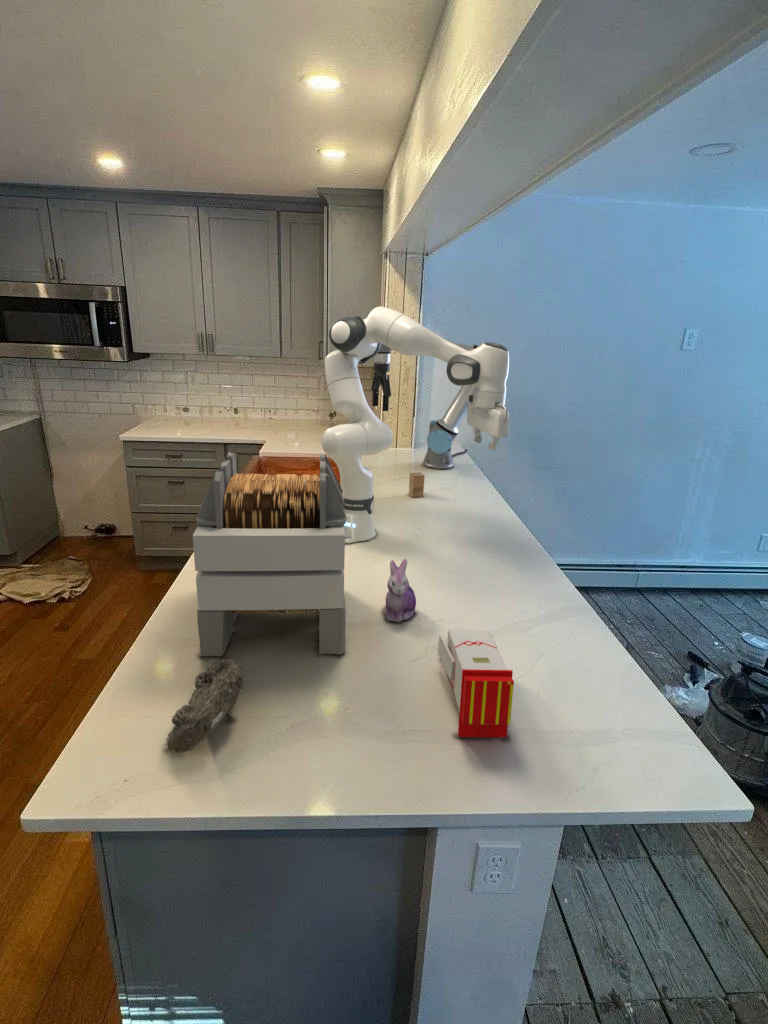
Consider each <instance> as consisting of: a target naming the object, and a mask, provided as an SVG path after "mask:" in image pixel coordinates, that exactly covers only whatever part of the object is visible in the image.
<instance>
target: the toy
mask: <svg viewBox="0 0 768 1024" xmlns="http://www.w3.org/2000/svg"><path fill="white" fill-rule="evenodd" d="M446 640H447V643H446V641H445V639H444V636H443V635H442V634H439V637H438V646H437V656H438V657H439V659H440V661H441V663H442V666H443V668H444V670H445V672H446V674H447V677H448V679H449V681H450V684H451V687H452V690H453V693H454V697H455V701H456V705H457V708H458V711H459V714H458V715H459V716H458V730H457V731H458V732H457V737H458V738H508V731H509V726H510V725H511V717H512V707H513V697H514V696H513V695H514V684H515V680H514V679H513V673H514V671H513V670H512V669H508V667H507V665H506V662H505V661H504V659H503V658H502V655H501V653H500V651H499V649H498V647H497V643H496V639H495V637H494V635H493V634H491V632H490V631H489V629H467V628H466V629H465V628H463V629H461V628H460V629H459V628H448V630H447V639H446Z"/></svg>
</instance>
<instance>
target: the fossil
mask: <svg viewBox="0 0 768 1024" xmlns="http://www.w3.org/2000/svg"><path fill="white" fill-rule="evenodd" d="M243 670H244V669H243V667H242V665H240V664H237V662H236V661H235V660H234V659H232V658H231V659H227V658H226V659H224V660H223V661H222V660H217V659H212V660H211V661H210V663H209V665H208V666H207V671H201V672H199V673H198V674H197V675H196V676H195V680H194V684H195V685H194V687H195V689H194V690H193V693H192V694H191V697H190V698H189V700H188V704H184V705H182V706H181V707H180V709H177V710H176V711H175V713H174V715H173V716H172V718H171V723H172V724H173V727H172V730H171V731H170V732H168V734H167V738H166V741H167V742H166V745H167V749H168V750H169V751H173V752H174V753H176V754H178V753H182V752H188V751H189V752H192V751H193V750H195V748H196V747H197V746H199V744H200V743H201V742H203V741H204V740H205V739H206V738H207V737H208V736H209V735H210V734H211V733H212V732H214V730H215V729H217V727H218V726H219V724H220V722H221V721H222V720H223V719H224V718H225V716H226V717H227V719H229V720H233V717H232V715H230V714H229V710H230V709H231V708H234V706H235V704H236V703H237V702H238V699H239V697H240V695H241V693H242V691H243V690H245V689H244V688H245V675H244V671H243Z"/></svg>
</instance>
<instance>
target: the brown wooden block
mask: <svg viewBox="0 0 768 1024" xmlns="http://www.w3.org/2000/svg"><path fill="white" fill-rule="evenodd" d="M425 478H426V477H425V474H424V473H422V472H420V471H419V472H417V471H416V472H409V482H408V496H410V497H411V498H412V499H413V498H424V491H425V490H424V489H425V488H424V487H425Z"/></svg>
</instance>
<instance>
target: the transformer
mask: <svg viewBox="0 0 768 1024" xmlns="http://www.w3.org/2000/svg"><path fill="white" fill-rule="evenodd" d="M195 521H196V525H197V527H196V529H195V530H194V532H193V534H192V544H193V545H192V546H193V558H194V559H193V560H194V571H195V572H197V573H196V576H195V584H196V597H197V610H196V619H197V631H198V639H199V651H200V652H199V656H200V657H201V658H207V657H223V655H224V653H225V651H226V648H227V647H228V644H229V641H230V639H231V638H232V637H231V636H232V634H233V624H235V623H236V619H237V617H238V614H257V613H258V614H263V613H264V614H266V613H267V614H277V613H278V614H282V613H283V614H288V613H291V614H292V613H308V612H309V613H317V612H318V613H319V614H318V615H319V616H318V618H319V621H318V622H319V626H318V627H319V628H318V629H319V630H318V632H319V634H318V636H319V637H318V638H319V639H318V640H319V646H318V649H319V652H318V653H319V655H341V656H342V654H344V653H346V626H347V625H346V623H347V621H346V619H347V617H346V616H347V608H346V596H345V559H346V558H345V556H346V555H345V554H346V553H345V552H346V543H345V530H344V524H345V523H346V511H345V503H344V496H343V491H342V489H341V486H340V481H339V480H338V477H337V475H336V474H335V472H334V469H333V467H332V465H331V463H330V461H329V459H328V455H327V454H326V453H321V452H320V453H319V474H312V475H311V474H307V473H304V474H302V475H299V474H295V473H276V474H271V473H270V474H268V473H238V472H237V457H236V452H227V454H226V456H225V458H224V459H223V460H222V461H221V464H220V466H219V468H218V470H217V471H215V473H214V475H213V477H212V479H211V482H210V484H209V486H208V488H207V491H206V493H205V496H204V498H203V500H202V502H201V505H200V507H199V509H198V512H197V514H196V517H195Z"/></svg>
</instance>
